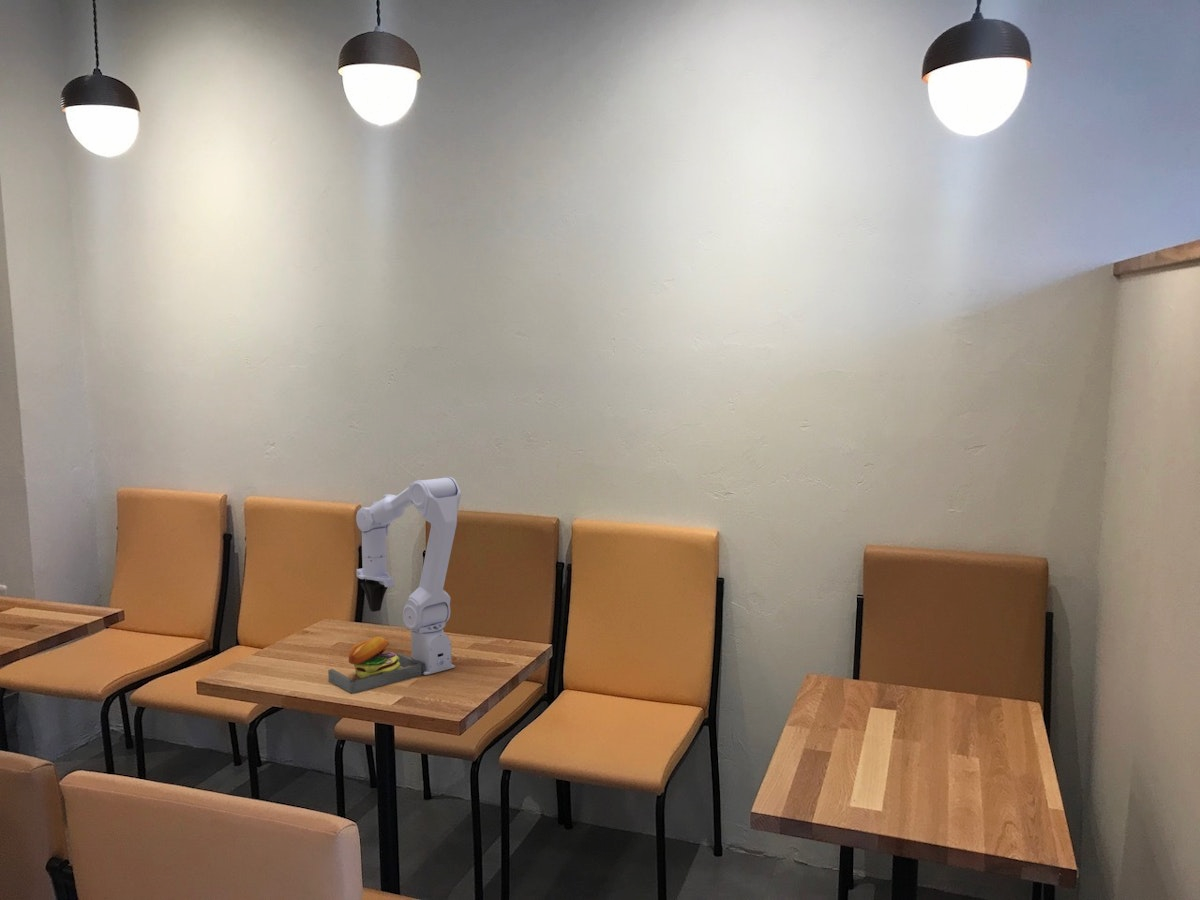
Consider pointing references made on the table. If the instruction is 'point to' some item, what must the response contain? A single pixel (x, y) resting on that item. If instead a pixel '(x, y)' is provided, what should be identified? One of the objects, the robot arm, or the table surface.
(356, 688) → the grey low angled fixture
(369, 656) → the cheeseburger
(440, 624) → the robot arm
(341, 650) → the table surface
